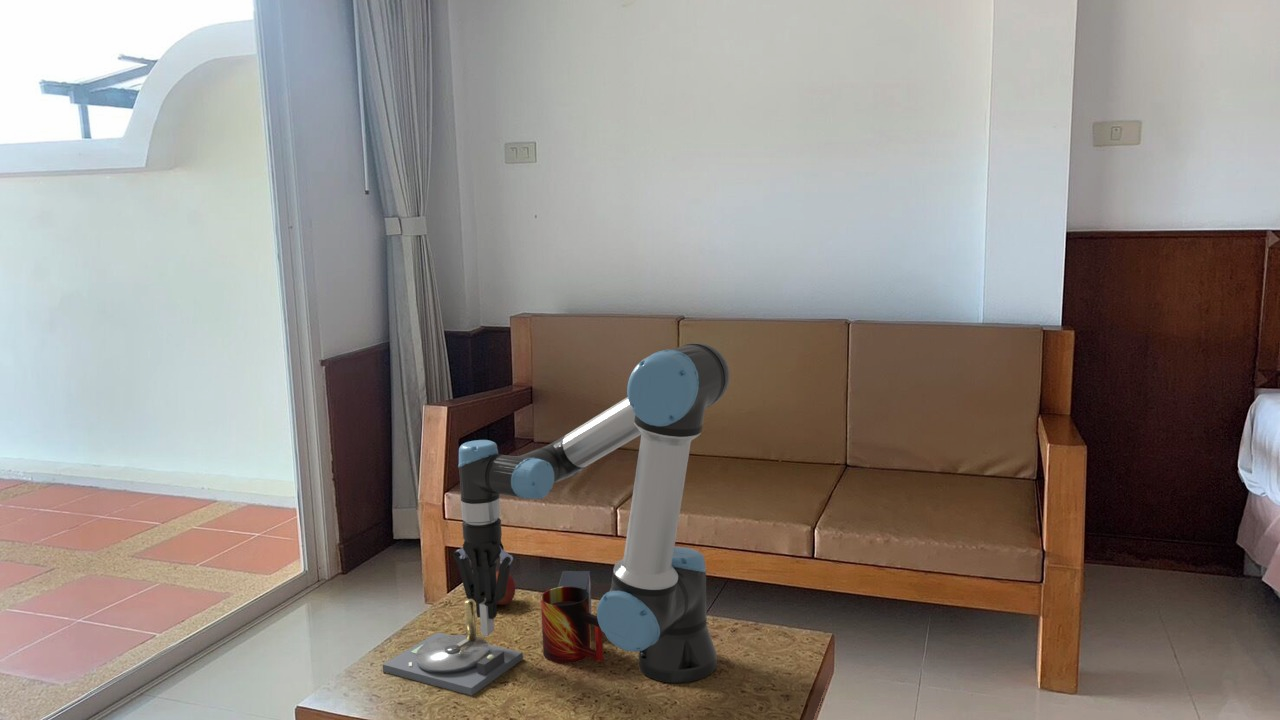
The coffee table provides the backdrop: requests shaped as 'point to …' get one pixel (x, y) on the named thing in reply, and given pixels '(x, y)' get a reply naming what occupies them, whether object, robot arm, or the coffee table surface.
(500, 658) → the record turntable
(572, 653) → the mug
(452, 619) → the coffee table surface
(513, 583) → the apple
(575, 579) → the small box
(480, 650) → the crank wheel
